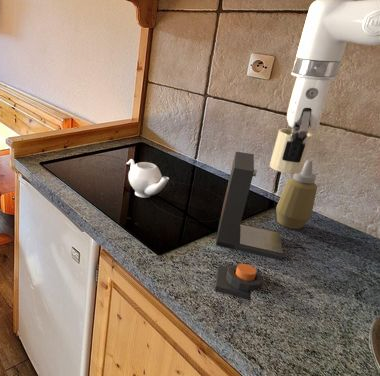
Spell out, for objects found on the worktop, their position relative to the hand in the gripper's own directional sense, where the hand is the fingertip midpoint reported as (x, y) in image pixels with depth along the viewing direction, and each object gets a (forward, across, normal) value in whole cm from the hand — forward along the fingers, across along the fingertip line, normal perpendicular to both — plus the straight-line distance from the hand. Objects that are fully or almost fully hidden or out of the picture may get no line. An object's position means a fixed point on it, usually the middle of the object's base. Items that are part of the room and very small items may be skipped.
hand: (289, 155), depth 86 cm
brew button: (+21, -18, +4) cm, 28 cm away
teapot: (+24, +16, +32) cm, 43 cm away
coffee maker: (+24, +2, +3) cm, 24 cm away
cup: (+3, 0, 0) cm, 3 cm away
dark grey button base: (+24, -18, +4) cm, 30 cm away
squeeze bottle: (+24, +16, -7) cm, 30 cm away
